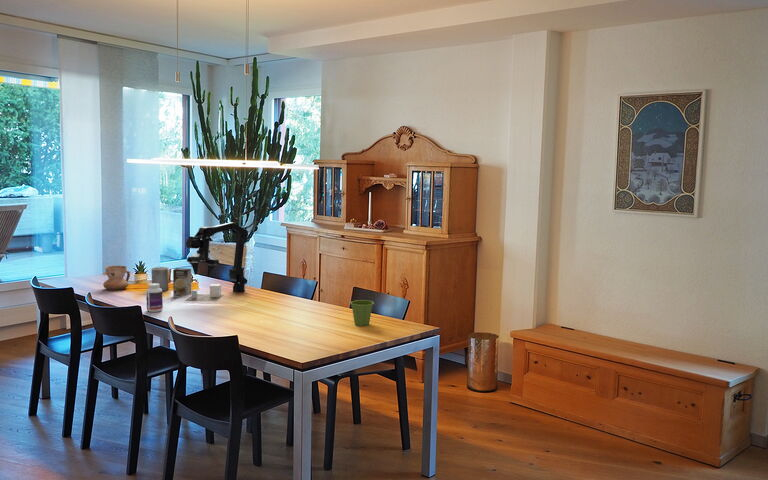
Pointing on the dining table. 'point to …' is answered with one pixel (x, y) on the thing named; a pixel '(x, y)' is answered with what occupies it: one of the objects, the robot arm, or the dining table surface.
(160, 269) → the pillar candle
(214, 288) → the white rectangular block
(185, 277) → the coffee box
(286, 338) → the dining table surface
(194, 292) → the grey metal block
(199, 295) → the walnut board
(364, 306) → the plant pot
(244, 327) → the dining table surface
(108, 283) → the ceramic jug
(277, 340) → the dining table surface
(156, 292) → the pill bottle
